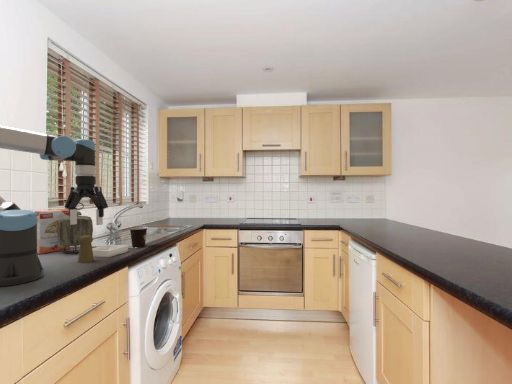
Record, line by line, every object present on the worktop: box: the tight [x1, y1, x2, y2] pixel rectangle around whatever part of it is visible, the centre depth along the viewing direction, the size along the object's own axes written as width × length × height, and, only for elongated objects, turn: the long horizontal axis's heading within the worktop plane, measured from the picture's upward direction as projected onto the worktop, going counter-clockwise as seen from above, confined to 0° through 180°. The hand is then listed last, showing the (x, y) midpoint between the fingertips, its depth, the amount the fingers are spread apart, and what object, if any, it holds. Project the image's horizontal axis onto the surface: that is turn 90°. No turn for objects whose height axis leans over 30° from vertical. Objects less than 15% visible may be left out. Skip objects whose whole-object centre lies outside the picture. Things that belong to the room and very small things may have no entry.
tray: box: [92, 244, 129, 258], centre depth 134 cm, size 13×12×3 cm
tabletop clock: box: [57, 201, 94, 254], centre depth 139 cm, size 14×9×25 cm, turn 118°
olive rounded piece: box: [77, 235, 95, 264], centre depth 120 cm, size 6×6×11 cm
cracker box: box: [34, 209, 71, 255], centre depth 141 cm, size 14×6×21 cm, turn 150°
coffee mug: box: [129, 226, 148, 249], centre depth 150 cm, size 12×9×10 cm
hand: (86, 224), depth 121 cm, fingers open, 13 cm apart
